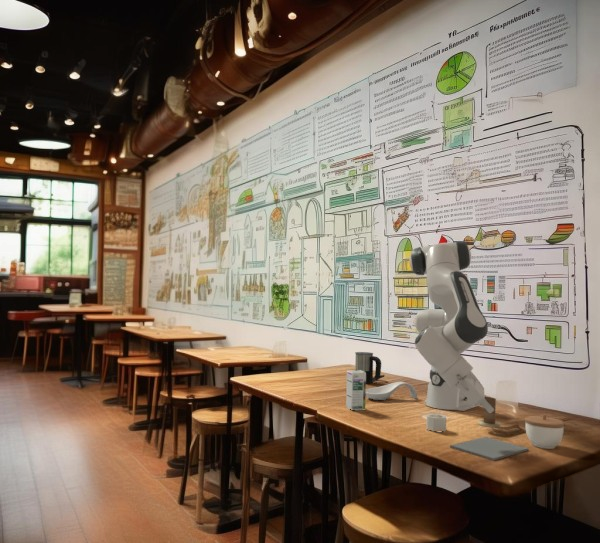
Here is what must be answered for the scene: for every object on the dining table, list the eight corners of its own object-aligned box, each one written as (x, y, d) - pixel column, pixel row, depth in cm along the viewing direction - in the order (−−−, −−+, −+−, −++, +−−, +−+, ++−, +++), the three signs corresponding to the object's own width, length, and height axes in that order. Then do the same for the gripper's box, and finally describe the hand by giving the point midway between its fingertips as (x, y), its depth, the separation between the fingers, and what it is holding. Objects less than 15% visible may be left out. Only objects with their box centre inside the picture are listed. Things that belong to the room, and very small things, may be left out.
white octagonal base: (434, 426, 176) (434, 413, 176) (449, 430, 171) (449, 416, 172) (422, 428, 172) (423, 415, 173) (437, 433, 168) (438, 419, 168)
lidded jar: (552, 441, 163) (552, 411, 163) (571, 451, 152) (571, 419, 153) (518, 440, 163) (518, 410, 163) (535, 450, 152) (535, 418, 152)
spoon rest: (371, 403, 213) (372, 385, 213) (359, 397, 224) (359, 380, 224) (421, 401, 221) (422, 384, 221) (407, 395, 232) (407, 379, 232)
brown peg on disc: (485, 421, 157) (486, 395, 157) (504, 426, 152) (505, 399, 152) (473, 424, 153) (474, 397, 153) (492, 428, 148) (493, 401, 148)
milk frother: (352, 382, 260) (353, 352, 260) (358, 378, 275) (359, 350, 275) (380, 385, 255) (381, 355, 256) (385, 380, 270) (386, 352, 271)
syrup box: (351, 411, 195) (352, 372, 196) (345, 407, 201) (346, 369, 202) (365, 410, 197) (366, 371, 198) (359, 407, 203) (360, 369, 203)
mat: (485, 438, 163) (485, 436, 163) (528, 450, 152) (528, 448, 152) (450, 447, 152) (450, 445, 152) (493, 460, 141) (493, 458, 141)
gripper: (465, 370, 145) (501, 409, 142) (466, 362, 165) (499, 397, 161) (448, 385, 147) (484, 424, 143) (451, 375, 166) (483, 410, 162)
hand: (492, 410), depth 152 cm, fingers closed on brown peg on disc, 3 cm apart
